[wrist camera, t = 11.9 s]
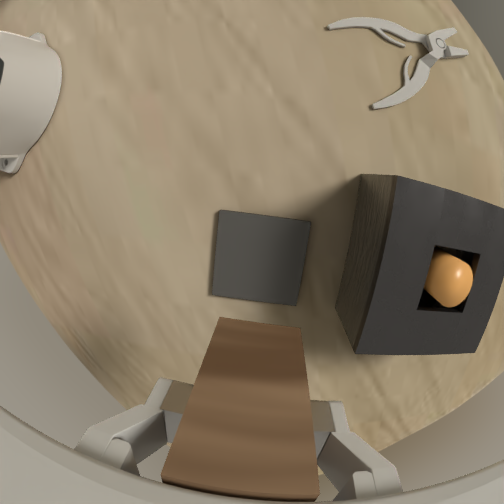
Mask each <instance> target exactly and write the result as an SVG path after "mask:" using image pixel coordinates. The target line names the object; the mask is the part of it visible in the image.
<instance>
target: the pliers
mask: <svg viewBox="0 0 504 504" xmlns="http://www.w3.org/2000/svg"><path fill="white" fill-rule="evenodd" d="M327 28H328V29H329V30H335V29H343V28H371V29H372V30H374V31H376V32H377V33H378V34H379V35H380V36H382V37H383V38H384V39H386V40H387V41H389V42H391V43H393V44H395V45H398V46H401V47H405V44H403V43H400V42H398V41H395V40H393V39H391V38H390V37H389V36H387V35H386V34H385V33H384V32H383V31H387V32H389V33H392V34H394V35H396V36H398V37H400V38H402V39H404V40H406V41H408V42H417V43H422V44H423V45H424V46H425V48H426V49H427V50H428V51H429V52H430V53H428V54H427V55H425V56H424V57H422V58H421V59H419V60H418V63H417V66H416V69H415V72H414V74H413V77H412V78H411V79H410V80H409V76H408V64H409V62H410V60H411V58H412V56H411V55H410V56H409V57H408V58H407V60H406V62H405V64H404V68H403V77H404V85H403V87H402V88H401V89H399V90H398V91H397V92H395V93H394V94H392V95H390V96H388V97H386V98H384V99H383V100H381V101H378V102H376V103H374V104H372V107H373V109H380V108H386V107H391V106H394V105H396V104H399V103H401V102H403V101H405V100H407V99H409V98H410V97H412V96H413V95H415V94H416V93H417V92H418V91H419V90H420V89H421V88H422V87H423V86H424V84H425V82H426V81H427V79H428V76H429V71H430V68H431V67H432V66H433V65H434V63H435V62H436V61H437V60H438V59H439V58H443V59H447V58H460V57H465V56H467V55H469V54H468V51H467V50H465V49H461V48H456V47H452V46H446V43H445V39H447V38H449V37H450V36H452V35H453V34H455V33H457V31H456V29H455V28H448V29H442V30H437V31H434V32H433V33H431V34H429V35H424V34H418V33H415V32H412V31H410V30H408V29H406V28H404V27H402V26H400V25H398V24H396V23H394V22H391V21H388V20H383V19H379V18H371V17H355V18H348V19H343V20H340V21H337V22H334V23H332V24H329V25H328V26H327ZM382 30H383V31H382Z"/></svg>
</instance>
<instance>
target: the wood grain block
mask: <svg viewBox="0 0 504 504" xmlns="http://www.w3.org/2000/svg"><path fill="white" fill-rule="evenodd" d="M161 477H162V482H163V483H165V484H168V485H172V486H176V487H180V488H185V489H189V490H194V491H199V492H204V493H209V494H215V495H221V496H228V497H235V498H243V499H252V500H264V501H281V502H314V501H315V500H316V499H317V497H318V496H319V495H320V490H319V480H318V468H317V458H316V448H315V438H314V429H313V420H312V412H311V404H310V396H309V388H308V380H307V372H306V365H305V358H304V350H303V343H302V336H301V330H300V328H297V327H288V326H280V325H272V324H265V323H257V322H250V321H243V320H237V319H230V318H224V317H220V318H219V320H218V323H217V325H216V328H215V331H214V333H213V336H212V339H211V341H210V344H209V346H208V349H207V352H206V354H205V357H204V360H203V362H202V365H201V368H200V370H199V373H198V375H197V378H196V381H195V383H194V386H193V389H192V391H191V394H190V397H189V399H188V402H187V405H186V407H185V410H184V413H183V415H182V418H181V421H180V423H179V426H178V429H177V432H176V434H175V437H174V440H173V442H172V445H171V448H170V450H169V453H168V456H167V459H166V461H165V464H164V467H163V470H162V472H161Z"/></svg>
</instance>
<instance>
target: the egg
mask: <svg viewBox="0 0 504 504" xmlns="http://www.w3.org/2000/svg"><path fill="white" fill-rule="evenodd" d="M472 282H473V273H472V270H471V268H470V266H469V265H468V264H467V263H465V262H463V261H462V260H460V259H458V258H456V257H454V256H452V255H451V254H449V253H447V252H445V251H443V250H441V249H439V248H437V247H436V246H434V251H433V255H432V259H431V263H430V267H429V270H428V274H427V278H426V281H425V285H424V288H423V289H424V290H426V291H427V292H428V293H429V294H430V295H431V296H433V297H434V298H435V299H436V300H437V301H438V302H439V303H441V304H442V305H443V306H445V307H454V306H457V305H458V304H460V303H461V302H462V301H463V300H464V299H465V298H466V297H467V295H468V294H469V292H470V289H471V287H472Z"/></svg>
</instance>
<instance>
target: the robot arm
mask: <svg viewBox="0 0 504 504" xmlns="http://www.w3.org/2000/svg"><path fill="white" fill-rule="evenodd" d="M61 80H62V68H61V62H60V59H59V56H58V54H57V53H56V52H55V51H54V50H53V49H52V48H50V47H49V46H48V45H47V43H46V39H45V36H44V34H42V33H38V32H37V33H35V34H33V35H31V36H30V37H25V36H21V35H17V34H13V33H9V32H5V31H0V170H1V171H4V172H7V173H16V172H17V171H18V170H19V168H20V166H21V164H22V162H23V159H24V157H25V155H26V153H27V152H28V150H29V149H30V148H31V147H32V146H33V145H34V144H35V142H36V141H37V140H38V139H39V137H40V136H41V135H42V133H43V131H44V130H45V128H46V126H47V125H48V123H49V121H50V119H51V116H52V114H53V112H54V109H55V106H56V103H57V100H58V96H59V92H60V87H61ZM193 386H194V385H193V384H188V383H184V382H180V381H176V380H171V379H167V378H163V377H160V378H159V379H158V380H157V382H156V384H155V386H154V388H153V390H152V392H151V393H150V395H149V397H148V399H147V401H146V403H145V404H144V405H142V404H139V405H137V406H135V407H133V408H131V409H129V410H126V411H124V412H122V413H120V414H118V415H116V416H113V417H111V418H109V419H106V420H104V421H102V422H100V423H97V424H94V425H92V426H90V427H89V428H88V430H87V431H86V432H85V434H84V436H83V437H82V438H81V440H80V442H79V443H78V445H77V446H76V448H75V449H72V448H70V447H67V446H66V445H64V444H61V443H60V442H58V441H56V440H54V439H52V438H50V437H48V436H47V435H45V434H43V433H42V432H40V431H38V430H36V429H35V428H33V427H31V426H30V425H28V424H27V423H25V422H23V421H22V420H20V419H19V418H17V417H16V416H14V415H13V414H11V413H10V412H8V411H7V410H5V409H4V408H3V407H1V406H0V504H504V460H502V461H500V462H497V463H495V464H493V465H491V466H488V467H486V468H483V469H481V470H478V471H475V472H473V473H470V474H467V475H464V476H461V477H459V478H456V479H452V480H449V481H446V482H442V483H439V484H435V485H432V486H428V487H424V488H420V489H416V490H411V491H406V492H403V489H402V486H401V483H400V480H399V476H398V473H397V470H396V467H395V466H394V465H393V464H392V463H390V462H389V461H388V460H387V459H385V458H384V457H383V456H381V455H380V454H379V453H378V452H377V451H376V450H374V449H373V448H372V447H371V446H370V445H368V444H367V443H366V442H365V441H364V440H363V439H361V438H360V437H359V436H358V435H357V434H355V433H354V432H350V430H349V426H348V422H347V418H346V414H345V410H344V406H343V403H342V401H319V400H310V404H311V412H312V420H313V429H314V438H315V448H316V458H317V465H318V466H319V467H320V469H321V470H322V471H323V472H324V474H325V475H326V476H327V478H328V479H329V480H330V481H331V483H332V484H333V485H334V486H335V487H336V489H337V490H338V491H339V493H338V495H337V496H336V497H335V498H334V500H333V501H327V502H281V501H264V500H252V499H243V498H235V497H228V496H221V495H215V494H209V493H204V492H199V491H194V490H189V489H185V488H180V487H176V486H172V485H168V484H165V483H161V482H157V481H154V480H150V479H147V478H144V477H141V476H140V474H139V471H138V468H137V464H138V463H139V462H141V461H142V460H144V459H145V458H147V457H148V456H150V455H151V454H153V453H154V452H155V451H157V450H158V449H159V448H161V447H162V446H164V445H165V444H167V442H169V443H172V442H173V440H174V437H175V434H176V432H177V429H178V426H179V423H180V421H181V418H182V415H183V413H184V410H185V407H186V405H187V402H188V399H189V397H190V394H191V391H192V389H193Z"/></svg>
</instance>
